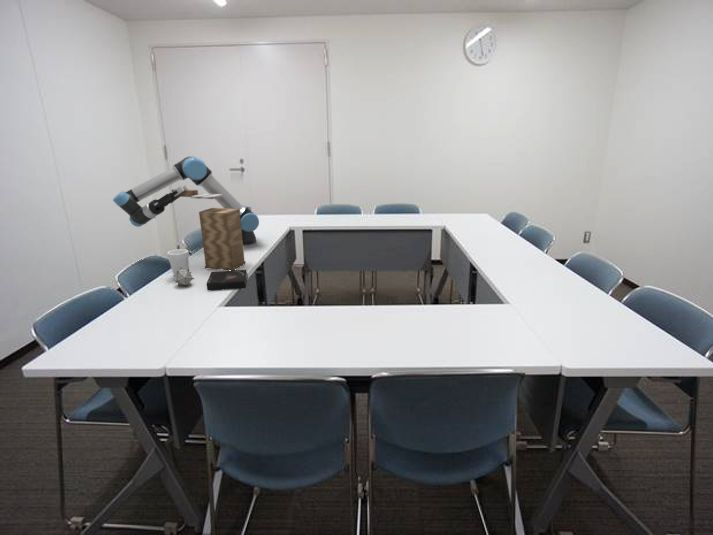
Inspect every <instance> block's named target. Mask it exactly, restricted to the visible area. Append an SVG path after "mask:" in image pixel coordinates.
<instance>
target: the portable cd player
mask: <svg viewBox="0 0 713 535" xmlns="http://www.w3.org/2000/svg"><path fill="white" fill-rule="evenodd" d="M247 271H248V270H247V269H236V270H231V271H229V270H219V271H217V270H215V271H210V274H209V276H208V279H207V281H206V290H212V291H223V289H224V291H225V289H226V290H239V289H240V290H241V289H246V287H247V284H248V272H247Z"/></svg>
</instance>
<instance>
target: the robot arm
mask: <svg viewBox="0 0 713 535" xmlns="http://www.w3.org/2000/svg"><path fill="white" fill-rule="evenodd" d="M186 179H190V180H191V182H192V183H193V184H195V185H196V186H197V187H202V188H203V189H204V191H206V192H207V194H223V196H222V197H218V198H215V199H214V200H215V201H216V202H217V203H218V204H219V205H220V206H221V207H222V208H227V209H240V218H241V229H242V240H243V246H244V245H252V244H255V243H256V242H257V236H256V234H255V232H254V231H256V230H257V229H258V227H259V225H260V219H259V217H258V215H257V214H255V213H254V212H253V211H252V208H251V206H247V205H243V204H241V203H240V202H239V201H238V200H237V199H236V198H235V197H234V196H233V194H231V193H230V192H229V191H228V190H227V188H225V187H224V186H223V185H222V184H221V182H219V181H218V180H217V179H216V177H214V176H213V172H212V170H211V169H210V168H209V167H208V166H207V165H206V163H205V162H204V161H203V160H202V159H200V158H198V157H195V156H186V157H185V158H183V159H181V160H180V161H178V162H177V163H175V164H173V165H172V167H171V168H169V169H168V170H166V171H163V172H161V173H159V174H158V175H156V176H154V177H152V178H150V179H149V180H146V181H144V182H142V183H140V184H138V185H137V186H135V187H133V188H131V189H129V190H126V191H123V190H122V191H120V192H119V193H118V194H117V195H115V196H114V197H113V199H112V201H113V202H114V204H116V206H118V207H119V208H120V209H121V210H123V211H124V212H125V213H126V214H127V215H128V216H129V218H128V219H129V222H130V223H131V224H132V225H133V226H134V227H138V228H140V227H142V226H143V225H146V224H147V223H149V222H150V221H152V220H153V219H156V217H157V216H158V215H161V214H162V213H163V212H165V208H166V207H167V206H168V205H169V204H173V203H174V202H176V201H177V199H179V198H180V197H177V195H179V194H180V193H182V192H183V191H184V190H190V189H189V187H188V185H186V184H185V185H184V186H183V185H180V186H178V187H177V188H175V189H176V190H174V189H173V190H174V191H173V192H172V191H171V192H169V193H166V194H164V195H163V196H162V197H160V198H159V199H156V198H155V199H152V200H151V201H150V202H148V203H146V204H145V205H144V206H141V204H139V202H140V201H142V200H144V199H146V198H148V197H150V196H153V194H156V193H158V192H160V191H161V190H164V189H166V188H167V187H169V186H171V185H174V184H175V183H177V182H178V181H185V180H186Z"/></svg>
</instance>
